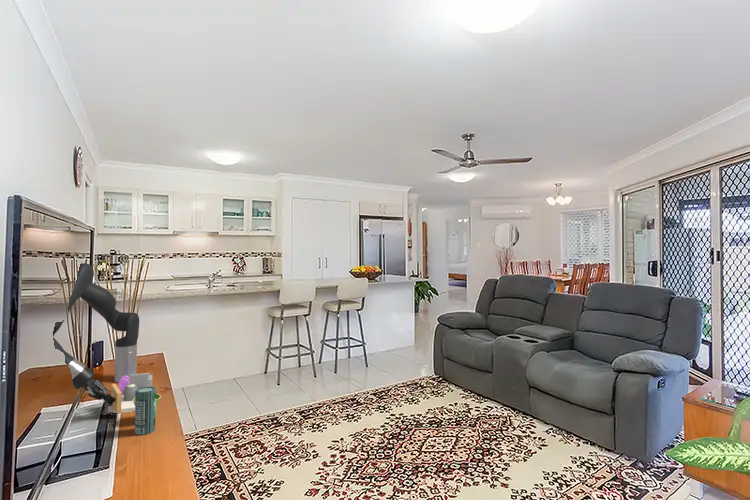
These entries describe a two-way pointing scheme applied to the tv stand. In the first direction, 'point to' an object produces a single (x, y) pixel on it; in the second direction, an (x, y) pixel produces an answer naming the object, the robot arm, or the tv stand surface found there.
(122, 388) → the bracket
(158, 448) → the tv stand surface
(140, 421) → the can
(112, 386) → the tan upright panel
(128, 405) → the plate
